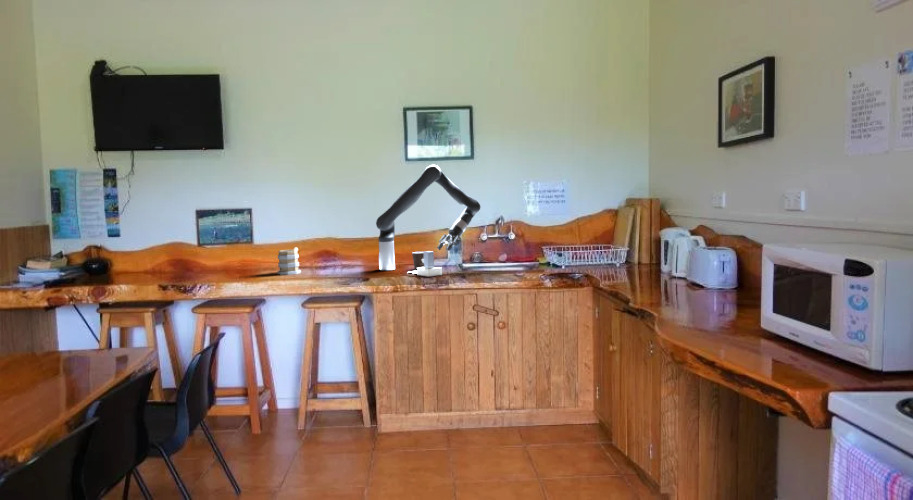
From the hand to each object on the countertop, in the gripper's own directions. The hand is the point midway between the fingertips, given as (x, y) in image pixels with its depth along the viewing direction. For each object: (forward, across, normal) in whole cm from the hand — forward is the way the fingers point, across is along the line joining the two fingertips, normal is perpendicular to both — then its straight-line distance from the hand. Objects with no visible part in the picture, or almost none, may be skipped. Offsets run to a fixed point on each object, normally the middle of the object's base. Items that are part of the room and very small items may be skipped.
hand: (442, 249), depth 333 cm
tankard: (+52, -75, -30) cm, 96 cm away
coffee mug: (+8, -24, +12) cm, 28 cm away
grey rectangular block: (+17, +2, +1) cm, 17 cm away
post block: (+18, -2, +1) cm, 18 cm away
